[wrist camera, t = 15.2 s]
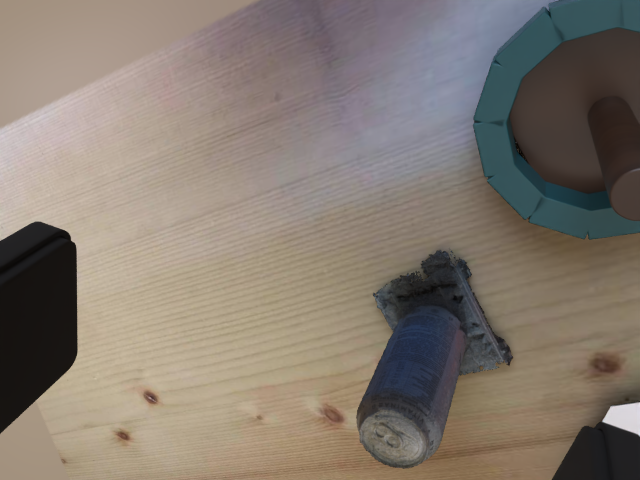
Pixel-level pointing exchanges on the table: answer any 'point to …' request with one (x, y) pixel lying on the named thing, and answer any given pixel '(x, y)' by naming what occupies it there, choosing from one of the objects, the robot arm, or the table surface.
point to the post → (585, 117)
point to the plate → (625, 416)
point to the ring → (496, 130)
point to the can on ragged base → (424, 361)
